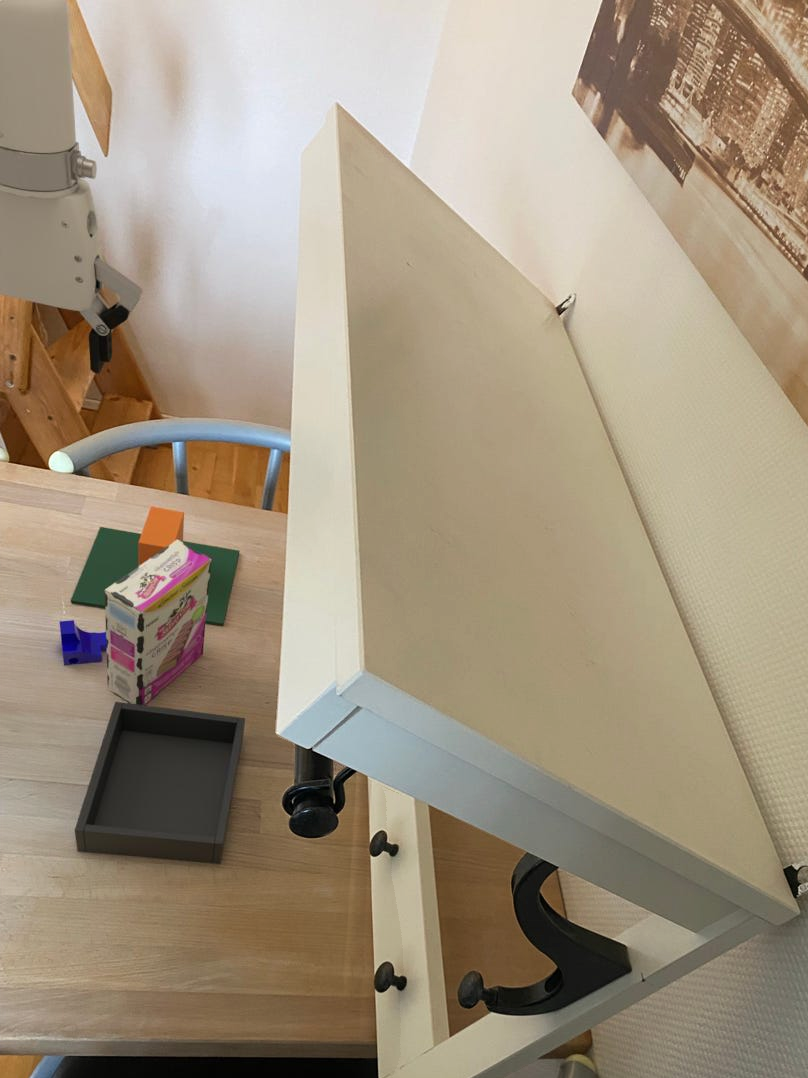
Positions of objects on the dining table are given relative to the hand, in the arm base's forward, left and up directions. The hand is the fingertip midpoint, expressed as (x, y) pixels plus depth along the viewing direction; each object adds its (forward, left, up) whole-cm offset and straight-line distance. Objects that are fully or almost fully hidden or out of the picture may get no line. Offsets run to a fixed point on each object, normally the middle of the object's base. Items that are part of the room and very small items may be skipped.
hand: (43, 353), depth 79 cm
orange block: (+9, +8, -34) cm, 36 cm away
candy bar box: (+12, -8, -34) cm, 37 cm away
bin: (+16, -24, -34) cm, 45 cm away
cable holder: (+5, -6, -34) cm, 35 cm away
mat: (+9, +8, -34) cm, 36 cm away
